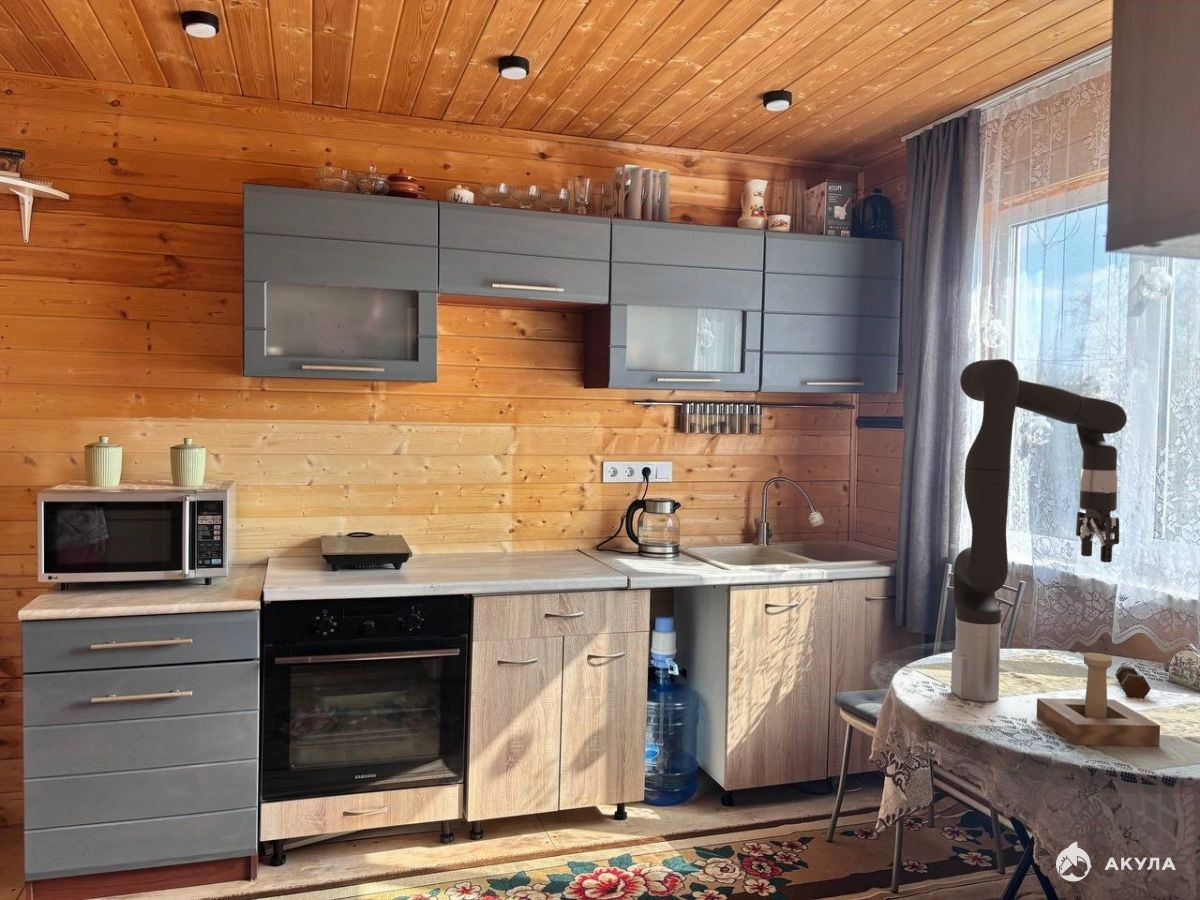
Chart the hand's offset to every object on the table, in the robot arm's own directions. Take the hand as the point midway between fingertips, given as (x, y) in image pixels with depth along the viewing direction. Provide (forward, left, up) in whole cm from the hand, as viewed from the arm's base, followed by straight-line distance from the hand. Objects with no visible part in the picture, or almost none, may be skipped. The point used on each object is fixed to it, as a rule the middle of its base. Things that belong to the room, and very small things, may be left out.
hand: (1096, 559), depth 211 cm
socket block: (-15, -30, -30) cm, 45 cm away
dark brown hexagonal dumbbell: (+8, -1, -30) cm, 32 cm away
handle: (-15, -30, -30) cm, 45 cm away
